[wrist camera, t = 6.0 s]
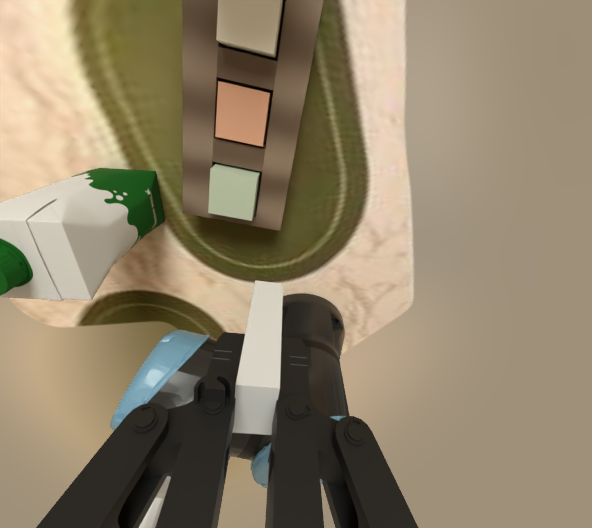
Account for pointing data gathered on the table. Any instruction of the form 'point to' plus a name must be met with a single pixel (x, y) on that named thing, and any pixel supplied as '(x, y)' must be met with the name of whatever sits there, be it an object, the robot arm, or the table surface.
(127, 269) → the table surface
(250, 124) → the terracotta button
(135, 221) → the milk carton
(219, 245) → the table surface
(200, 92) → the button console
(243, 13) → the cream button
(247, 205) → the sage button
